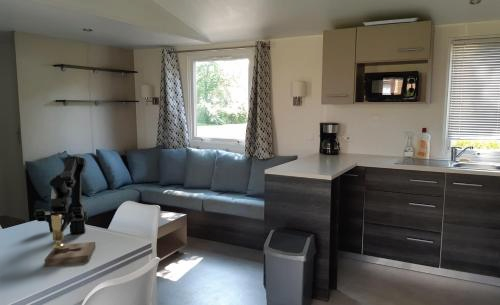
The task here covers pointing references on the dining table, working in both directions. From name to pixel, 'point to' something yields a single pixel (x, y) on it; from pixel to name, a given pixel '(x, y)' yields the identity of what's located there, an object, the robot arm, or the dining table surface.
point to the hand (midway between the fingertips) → (56, 232)
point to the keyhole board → (71, 254)
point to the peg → (57, 230)
